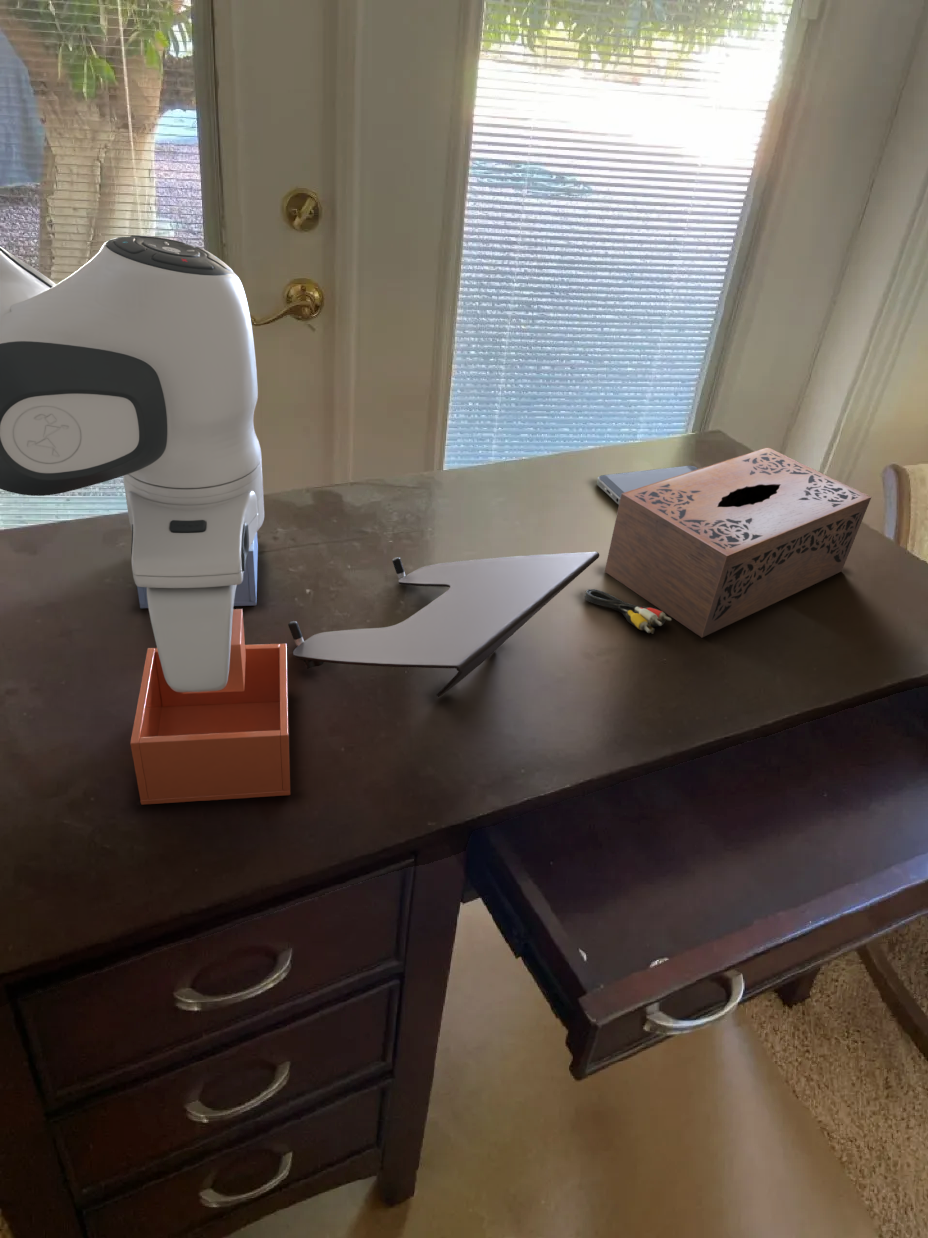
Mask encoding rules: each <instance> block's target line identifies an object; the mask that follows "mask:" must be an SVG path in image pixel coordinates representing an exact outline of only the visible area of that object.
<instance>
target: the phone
mask: <svg viewBox="0 0 928 1238" xmlns="http://www.w3.org/2000/svg"><path fill="white" fill-rule="evenodd" d="M697 469H699V468H698V467H696V466H694V465H682V466H681V465H680V466H673V467H664V468H656V469H655V468H653V469H646V470H636V471H627V472H619V473H610V474H602V475H599V476H598V477H597V480H596V481H597V482H596V484H597V486H598V487H599V488H600V489H601V490H602V491H603V492H605V493H606V494H607V495H608V496H609V497H610V498H611V499H612V500H613V501H614V502H615V503H616V504H617V505H618V506H619V503H620V498H621V494H622V493H625V492H628V491H631V490H634V489H637V488H641V487H644V486H647V485H650V484H653V483H656V482H659V481H663V480H666V479H669V478H672V477H675V476H678V475H681V474H685V473H688V472H691V471H694V470H697Z"/></svg>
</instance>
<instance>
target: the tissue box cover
mask: <svg viewBox="0 0 928 1238" xmlns="http://www.w3.org/2000/svg"><path fill="white" fill-rule="evenodd" d="M871 500H872V496H870V495H869V494H866V493H864V492H862V491H860V490H858V489H855V488H854V487H852V486H850V485H847V484H846V483H844V482H842V481H839V480H837V479H835V478H833V477H831V476H829V475H827V474H825V473H823V472H821V471H819V470H816V469H814V468H813V467H810V466H808V465H806V464H803V463H802V462H799V461H797V460H796V459H794V458H791V457H790V456H788V455H785V454H783V453H781V452H779V451H777V450H775V449H772V448H770V447H768V446H766V447H764V448H760V449H758V450H757V449H756V450H754V451H751V452H748V453H745V454H742V455H738V456H735V457H731V458H728V459H725V460H722V461H719V462H716V463H713V464H710V465H707V466H704V467H700V468H698V469H697V470H694V471H691V472H688V473H685V474H681V475H678V476H675V477H672V478H669V479H666V480H663V481H659V482H656V483H653V484H650V485H647V486H644V487H641V488H637V489H634V490H631V491H628V492H625V493H622V494H621V498H620V503H619V505H618V508H617V511H616V518H615V522H614V526H613V530H612V536H611V539H610V544H609V549H608V554H607V558H606V562H605V567H604V573H606V574H608V575H609V576H610V577H612V578H613V579H615V580H616V581H618V582H619V583H620V584H622V585H624V586H625V587H626V588H628V589H630V590H631V591H632V592H634V593H636V594H637V595H639V597H641V598H643V600H646V601H647V602H649V603H650V604H652V605H653V606H655V607H656V608H657V609H658V610H660V611H662V612H663V613H665V614H666V615H668V617H670V618H671V619H673V620H675V621H677V622H678V623H680V624H681V625H682V626H684V627H685V628H687V629H688V630H690V631H691V632H693V633H694V634H696V635H697V636H699V637H700V638H705V637H706V636H708V635H711V634H713V633H715V632H717V631H719V630H721V629H723V628H725V627H727V626H731V624H734V623H736V622H738V621H740V620H742V619H744V618H746V617H749V616H750V615H752V614H755V613H757V612H759V611H761V610H764V609H766V608H768V607H769V606H771V605H774V604H776V603H778V602H780V601H782V600H784V599H787V598H788V597H791V596H793V595H795V594H797V593H799V592H801V591H803V590H806V589H807V588H810V587H812V586H813V585H815V584H818V583H820V582H823V581H824V580H826V579H829V578H831V577H833V576H834V575H835V576H836V574H840V573H841V572H842V571H843V569H844V568H845V564H846V563H847V560H848V557H849V554H850V551H851V549H852V546H853V545H854V542H855V539H856V537H857V534H858V532H859V529H860V527H861V524H862V522H863V520H864V517H865V514H866V512H867V509H868V507H869V505H870V502H871Z"/></svg>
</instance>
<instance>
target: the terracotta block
mask: <svg viewBox="0 0 928 1238" xmlns="http://www.w3.org/2000/svg"><path fill="white" fill-rule="evenodd" d="M245 645H246V640H245V625H244V612H243V608H236V609H235V608H233V618H232V634H231V650H230V665H229V675H228V681H227V684H226V686H225V688H224V689H222V690H218V691H207V692H182V693H183V694H194V693H216V692H238V691H244V684H245V661H246V651H245Z"/></svg>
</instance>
